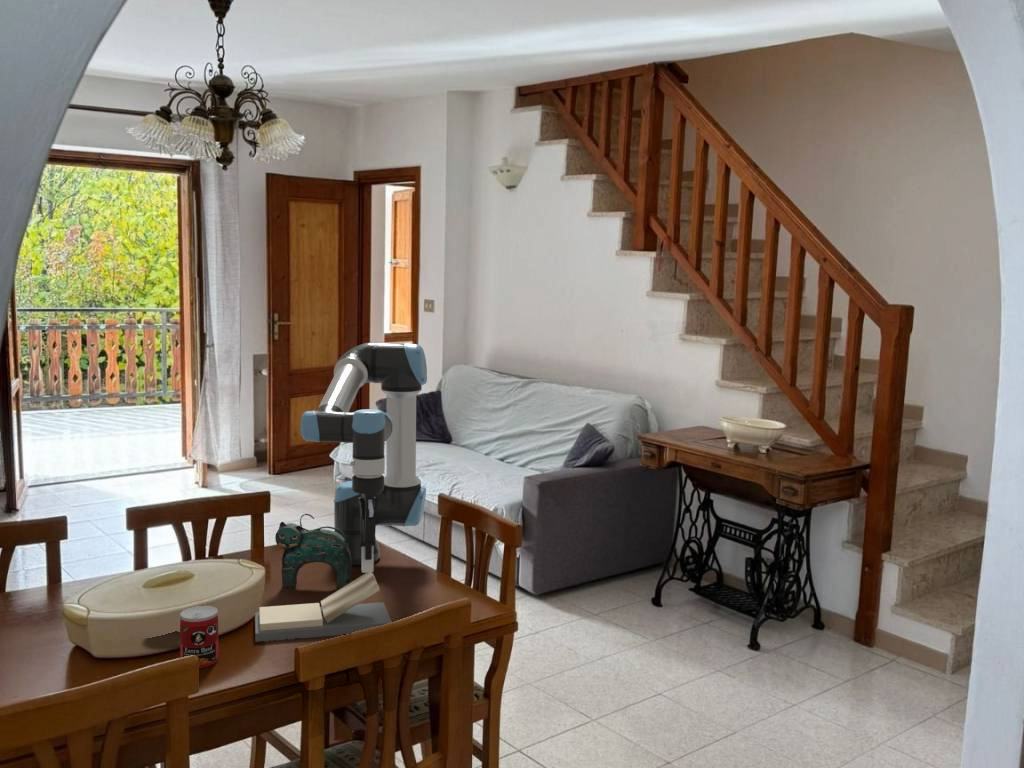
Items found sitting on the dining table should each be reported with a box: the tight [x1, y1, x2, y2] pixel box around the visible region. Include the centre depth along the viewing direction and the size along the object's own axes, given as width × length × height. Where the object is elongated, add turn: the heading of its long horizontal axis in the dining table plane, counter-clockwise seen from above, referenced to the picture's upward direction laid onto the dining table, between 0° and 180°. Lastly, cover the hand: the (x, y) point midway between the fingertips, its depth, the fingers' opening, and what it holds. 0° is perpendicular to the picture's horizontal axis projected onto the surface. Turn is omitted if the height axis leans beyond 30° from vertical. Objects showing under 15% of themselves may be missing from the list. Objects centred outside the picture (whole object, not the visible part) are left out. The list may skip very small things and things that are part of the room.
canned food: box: [179, 605, 219, 669], centre depth 190 cm, size 8×8×11 cm
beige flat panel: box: [320, 572, 381, 623], centre depth 213 cm, size 11×14×2 cm
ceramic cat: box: [274, 513, 353, 589], centre depth 239 cm, size 20×6×20 cm, turn 92°
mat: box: [254, 601, 393, 643], centre depth 212 cm, size 14×31×4 cm, turn 106°
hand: (367, 571), depth 214 cm, fingers closed
